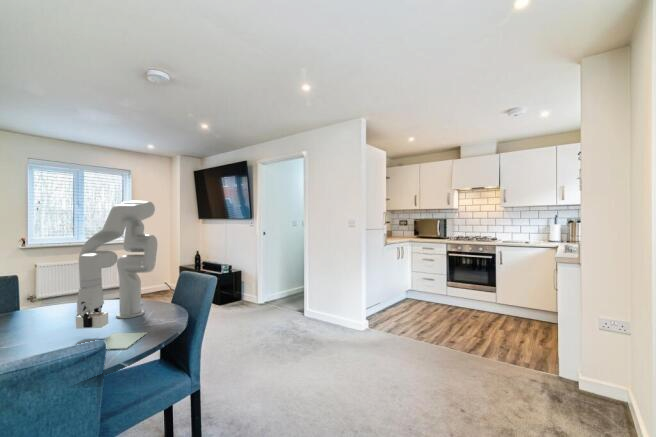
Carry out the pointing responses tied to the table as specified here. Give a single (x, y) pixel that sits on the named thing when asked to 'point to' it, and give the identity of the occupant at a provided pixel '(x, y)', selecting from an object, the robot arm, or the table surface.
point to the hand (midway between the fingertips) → (92, 324)
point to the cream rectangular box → (94, 320)
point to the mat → (122, 340)
